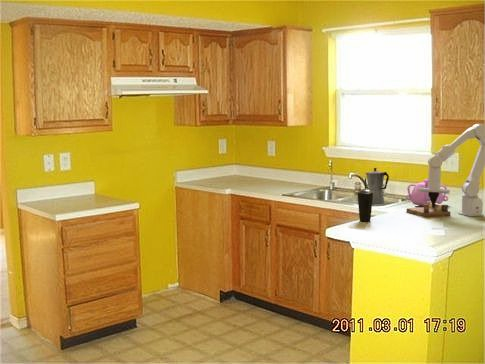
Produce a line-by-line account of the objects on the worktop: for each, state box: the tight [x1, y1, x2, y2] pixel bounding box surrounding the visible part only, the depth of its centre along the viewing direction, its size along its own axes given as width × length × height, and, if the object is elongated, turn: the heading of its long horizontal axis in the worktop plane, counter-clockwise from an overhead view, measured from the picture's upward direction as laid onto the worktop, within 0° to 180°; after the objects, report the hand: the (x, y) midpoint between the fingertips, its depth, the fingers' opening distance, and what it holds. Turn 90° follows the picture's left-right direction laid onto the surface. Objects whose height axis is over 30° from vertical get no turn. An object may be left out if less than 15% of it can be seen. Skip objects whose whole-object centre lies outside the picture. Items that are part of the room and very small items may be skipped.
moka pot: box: [365, 167, 390, 206], centre depth 324 cm, size 10×15×20 cm, turn 45°
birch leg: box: [427, 201, 449, 211], centre depth 294 cm, size 15×3×3 cm, turn 17°
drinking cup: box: [356, 177, 374, 223], centre depth 274 cm, size 8×8×20 cm
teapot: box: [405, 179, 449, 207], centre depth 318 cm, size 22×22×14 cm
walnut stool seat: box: [406, 204, 451, 218], centre depth 292 cm, size 16×14×6 cm
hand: (433, 207), depth 293 cm, fingers closed
